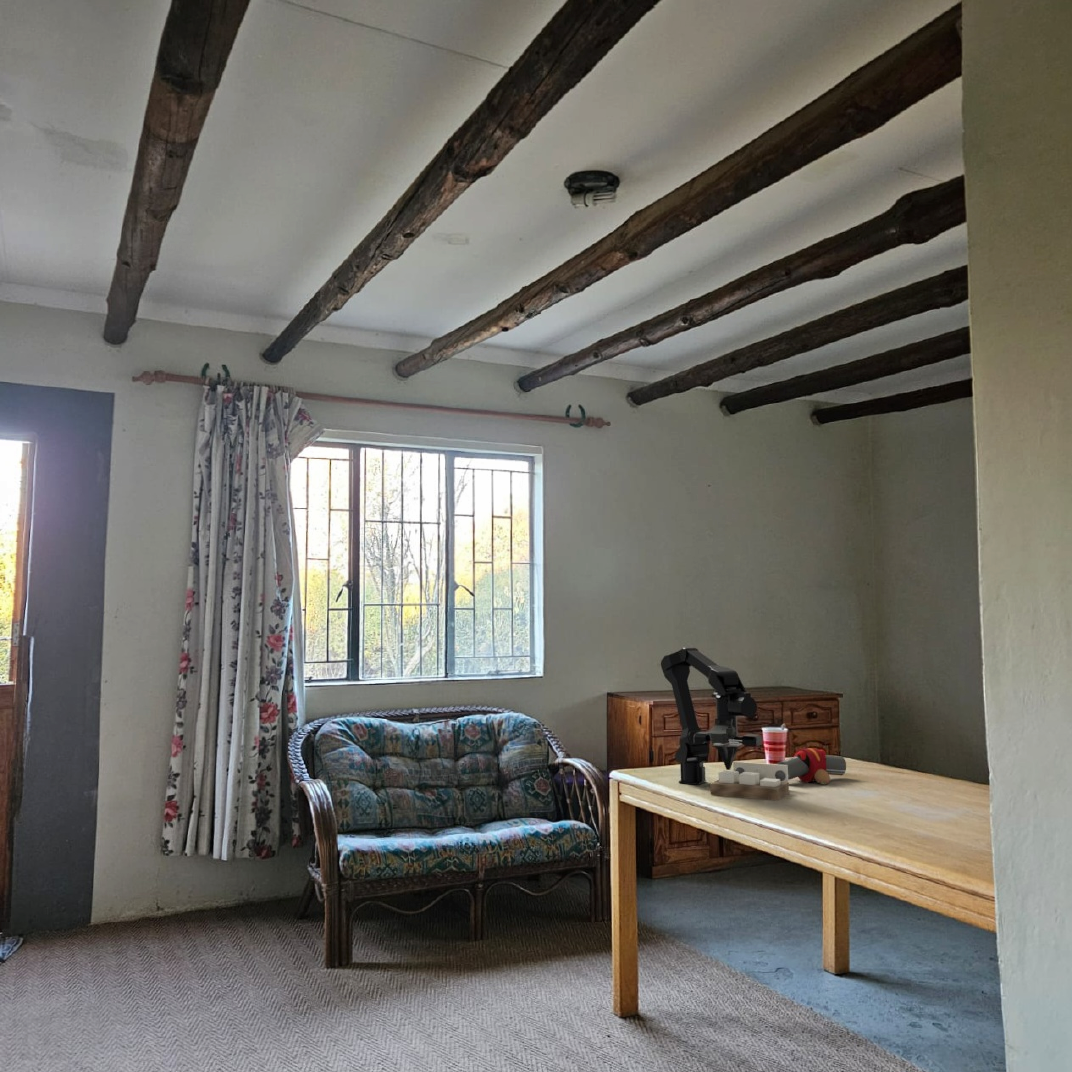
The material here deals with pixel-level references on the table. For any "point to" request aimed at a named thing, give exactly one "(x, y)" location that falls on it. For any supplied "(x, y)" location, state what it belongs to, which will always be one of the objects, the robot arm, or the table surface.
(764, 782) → the button right
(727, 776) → the button left
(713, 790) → the board
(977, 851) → the table surface
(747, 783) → the button mid
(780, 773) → the card
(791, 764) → the toy
